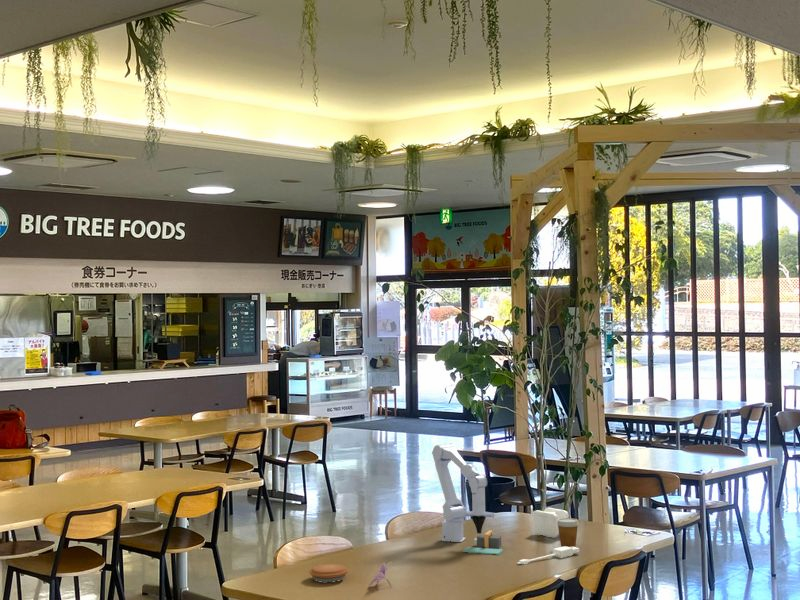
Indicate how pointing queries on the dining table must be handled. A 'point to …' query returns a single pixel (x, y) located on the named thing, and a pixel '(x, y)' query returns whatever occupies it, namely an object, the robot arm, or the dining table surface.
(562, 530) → the disposable coffee cup
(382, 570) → the lily
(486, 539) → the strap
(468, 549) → the mat
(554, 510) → the cable organizer
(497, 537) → the grey box
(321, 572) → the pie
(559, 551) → the charging cable
